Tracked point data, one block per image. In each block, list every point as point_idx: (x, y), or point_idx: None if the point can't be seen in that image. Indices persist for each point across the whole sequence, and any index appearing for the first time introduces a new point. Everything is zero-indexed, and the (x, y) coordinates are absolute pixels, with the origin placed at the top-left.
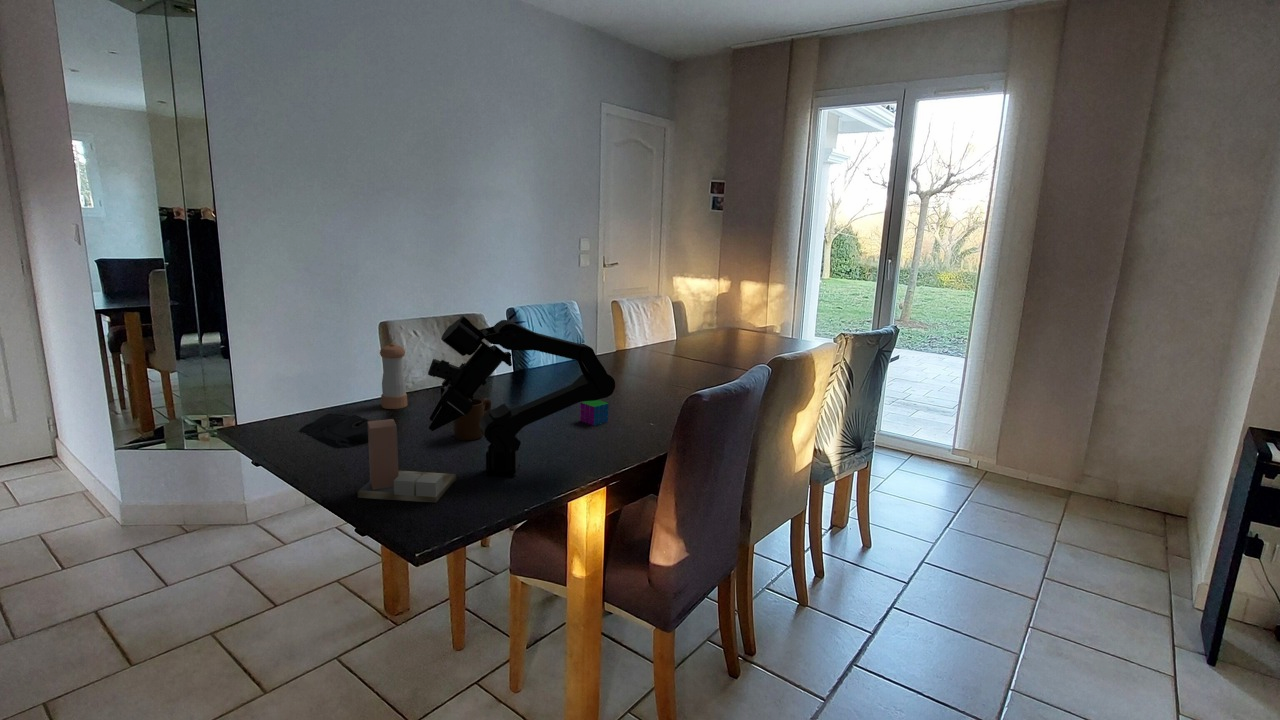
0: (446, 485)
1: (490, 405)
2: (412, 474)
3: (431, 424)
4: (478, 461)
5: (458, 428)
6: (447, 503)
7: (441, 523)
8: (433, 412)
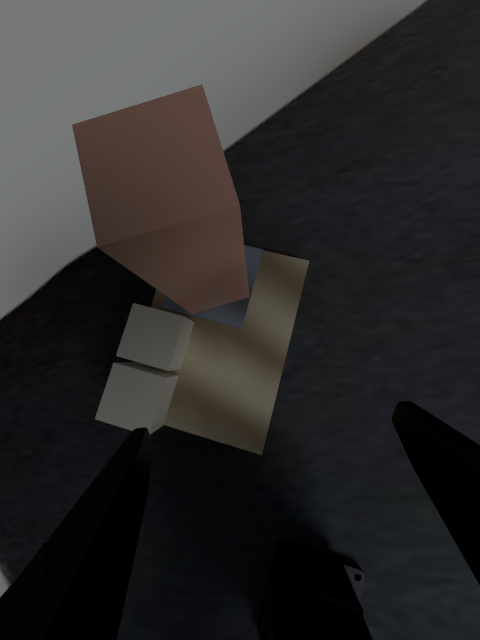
0: (189, 432)
1: None
2: (167, 346)
3: (116, 454)
4: (398, 515)
5: None
6: (117, 435)
7: (21, 428)
8: (434, 440)
